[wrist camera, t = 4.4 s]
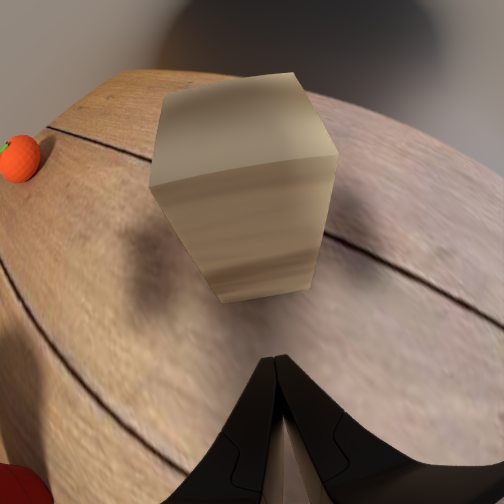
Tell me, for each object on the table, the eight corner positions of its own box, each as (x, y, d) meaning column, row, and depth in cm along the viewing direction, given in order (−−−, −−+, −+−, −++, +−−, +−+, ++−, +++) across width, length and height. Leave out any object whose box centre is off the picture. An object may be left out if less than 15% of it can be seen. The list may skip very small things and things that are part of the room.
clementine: (14, 206, 27) (-16, 175, 21) (10, 185, 30) (-15, 157, 24) (52, 166, 30) (26, 130, 23) (44, 150, 32) (22, 119, 26)
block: (309, 289, 19) (338, 154, 8) (221, 303, 19) (148, 186, 8) (292, 216, 21) (292, 72, 11) (215, 229, 22) (164, 94, 11)
